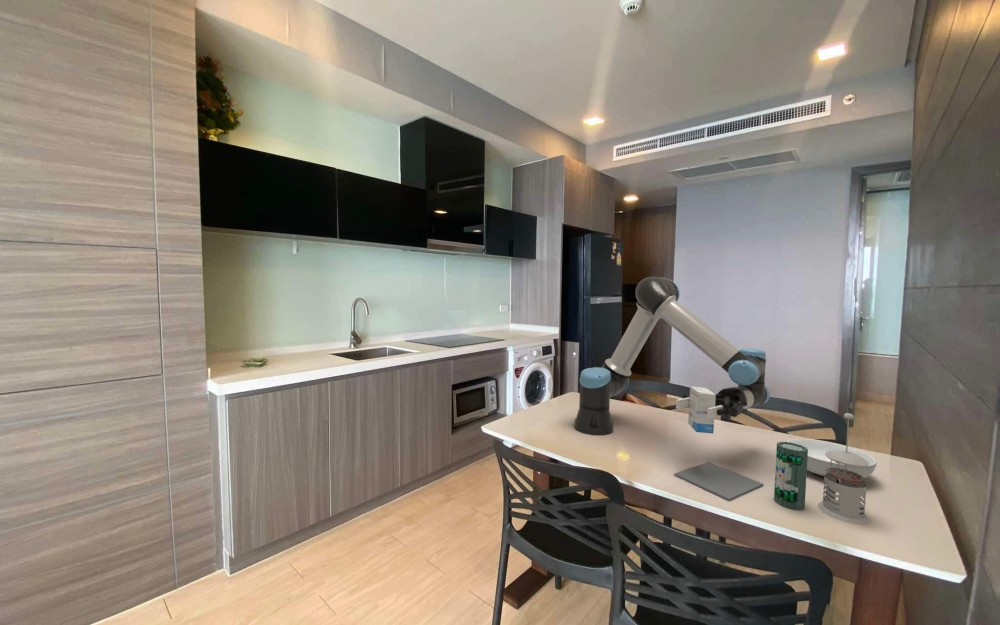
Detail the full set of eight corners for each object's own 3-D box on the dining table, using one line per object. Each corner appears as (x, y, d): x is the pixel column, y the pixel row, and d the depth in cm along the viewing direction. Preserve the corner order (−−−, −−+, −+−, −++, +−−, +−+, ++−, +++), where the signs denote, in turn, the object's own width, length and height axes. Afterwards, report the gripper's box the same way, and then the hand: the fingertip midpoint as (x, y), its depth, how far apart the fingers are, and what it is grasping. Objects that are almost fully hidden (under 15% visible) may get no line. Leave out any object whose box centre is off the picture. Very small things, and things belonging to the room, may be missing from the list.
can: (768, 497, 102) (771, 441, 101) (790, 496, 102) (793, 441, 101) (787, 510, 96) (790, 451, 95) (810, 509, 96) (813, 451, 95)
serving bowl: (862, 467, 121) (864, 446, 120) (886, 497, 103) (888, 472, 102) (781, 452, 131) (782, 433, 131) (790, 477, 113) (791, 454, 113)
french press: (825, 517, 93) (831, 416, 91) (809, 495, 103) (814, 403, 102) (878, 528, 89) (885, 422, 87) (856, 503, 99) (862, 408, 98)
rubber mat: (674, 475, 113) (674, 473, 113) (708, 463, 122) (708, 461, 122) (729, 501, 99) (729, 499, 99) (763, 485, 108) (763, 483, 108)
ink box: (714, 434, 110) (716, 393, 110) (696, 432, 111) (697, 392, 110) (704, 424, 118) (706, 386, 118) (687, 423, 119) (689, 385, 119)
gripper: (771, 420, 114) (729, 433, 103) (701, 402, 133) (659, 411, 122) (772, 395, 114) (730, 405, 103) (702, 380, 133) (660, 388, 121)
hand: (692, 408), depth 112 cm, fingers closed on ink box, 9 cm apart
